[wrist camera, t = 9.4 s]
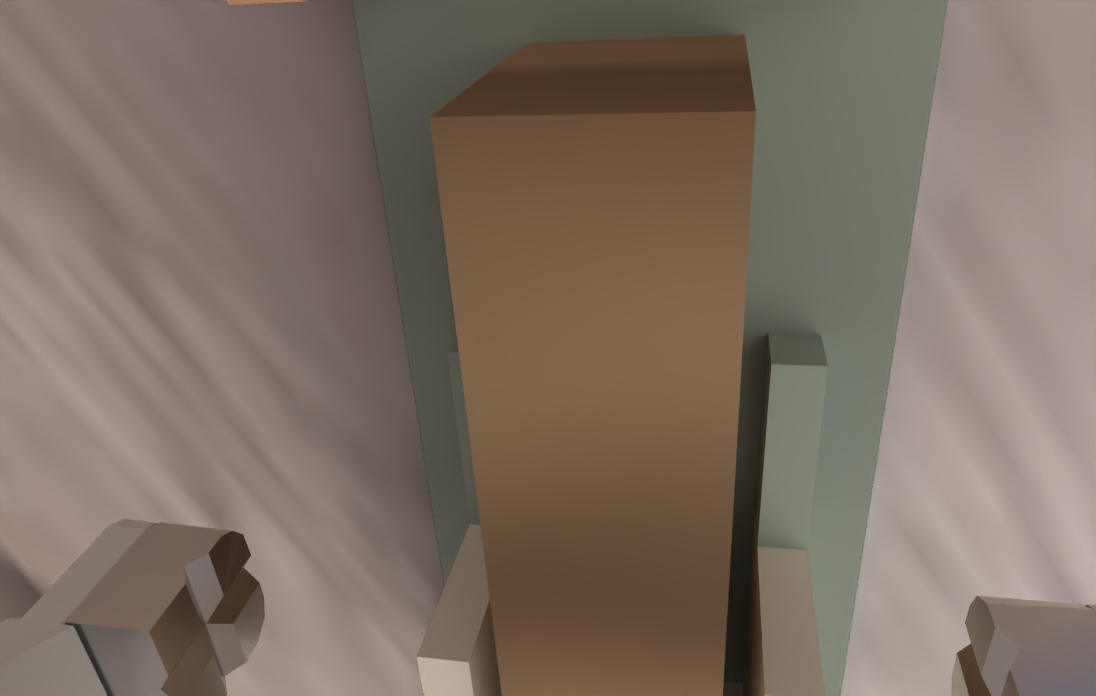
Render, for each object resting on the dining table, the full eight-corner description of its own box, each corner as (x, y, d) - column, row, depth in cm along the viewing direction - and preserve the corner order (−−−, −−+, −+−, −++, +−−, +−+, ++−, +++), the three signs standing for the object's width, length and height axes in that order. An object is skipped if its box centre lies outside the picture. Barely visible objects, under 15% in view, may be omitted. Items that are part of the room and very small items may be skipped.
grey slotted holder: (301, -534, 10) (-18, -854, 6) (1026, -663, 9) (1332, -1227, 4) (471, 648, 19) (399, 864, 15) (830, 687, 18) (863, 939, 14)
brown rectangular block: (526, 43, 12) (429, 117, 8) (744, 35, 11) (755, 110, 7) (568, 647, 17) (523, 865, 14) (714, 663, 17) (711, 894, 13)
